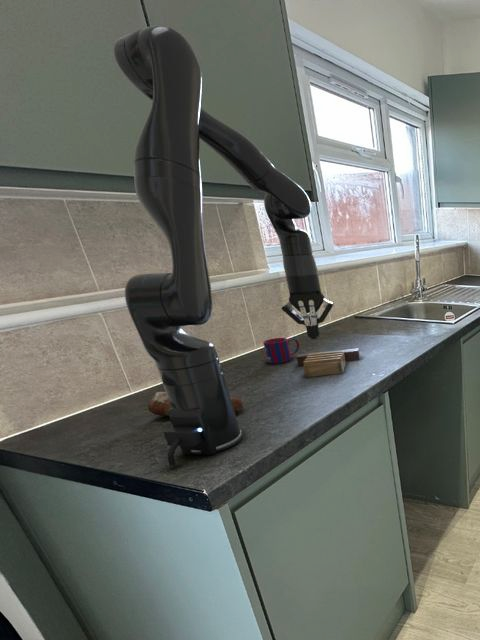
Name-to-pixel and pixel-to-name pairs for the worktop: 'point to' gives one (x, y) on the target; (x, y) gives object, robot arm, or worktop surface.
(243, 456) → the worktop surface
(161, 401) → the bread
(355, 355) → the stop rail
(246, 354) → the worktop surface
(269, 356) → the mug
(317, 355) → the rack
